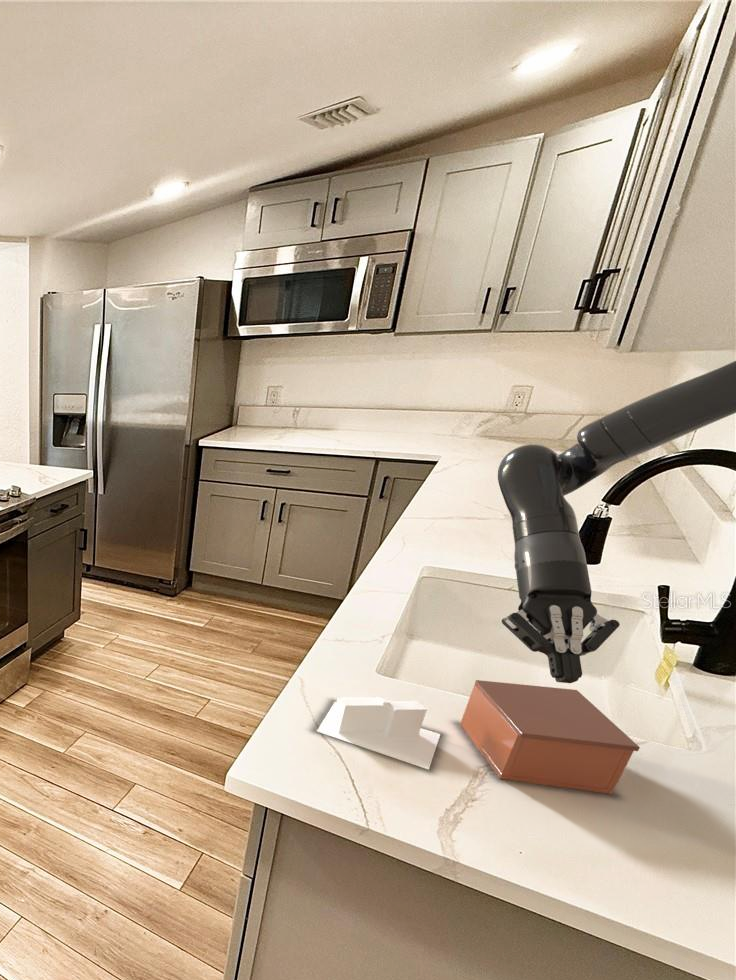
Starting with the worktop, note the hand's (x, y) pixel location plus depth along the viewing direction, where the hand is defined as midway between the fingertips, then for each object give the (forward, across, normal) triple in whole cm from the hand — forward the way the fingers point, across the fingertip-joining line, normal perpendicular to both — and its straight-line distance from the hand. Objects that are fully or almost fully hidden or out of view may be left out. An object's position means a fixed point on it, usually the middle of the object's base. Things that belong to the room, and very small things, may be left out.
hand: (567, 681), depth 86 cm
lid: (+4, 0, +5) cm, 6 cm away
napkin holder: (+8, -19, +12) cm, 24 cm away
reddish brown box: (+9, 0, +11) cm, 14 cm away
